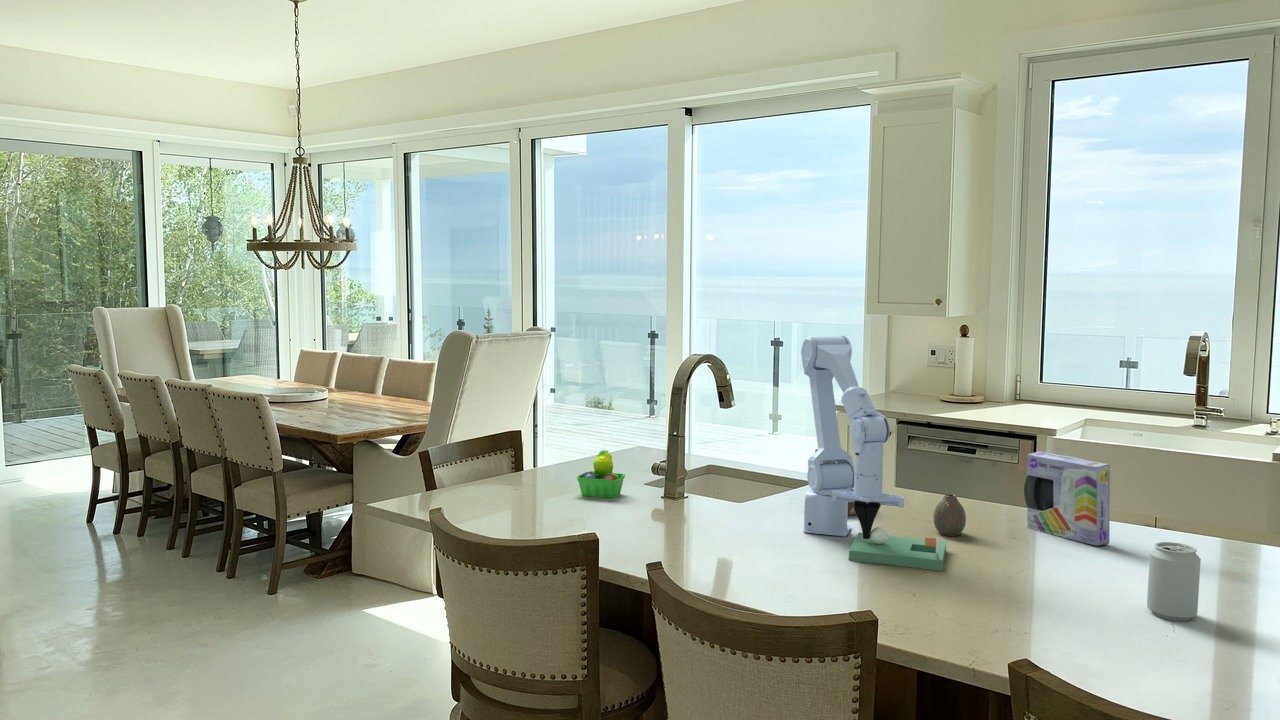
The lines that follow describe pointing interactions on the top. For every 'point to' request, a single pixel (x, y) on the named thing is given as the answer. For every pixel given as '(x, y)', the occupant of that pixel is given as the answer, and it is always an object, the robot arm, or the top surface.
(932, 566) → the board
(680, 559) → the top surface
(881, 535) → the ball
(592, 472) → the fruit basket
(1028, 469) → the cake pan box
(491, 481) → the top surface
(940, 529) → the vase
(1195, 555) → the can
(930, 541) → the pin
